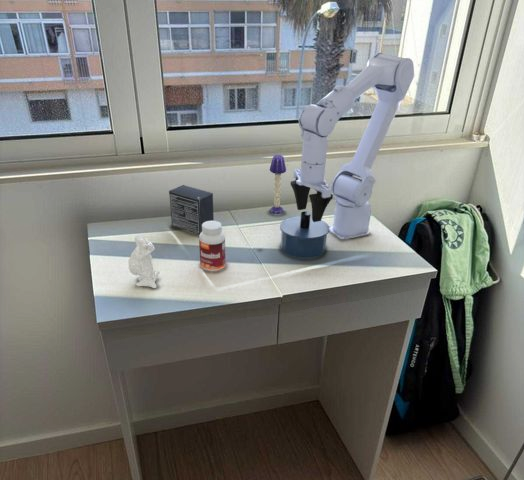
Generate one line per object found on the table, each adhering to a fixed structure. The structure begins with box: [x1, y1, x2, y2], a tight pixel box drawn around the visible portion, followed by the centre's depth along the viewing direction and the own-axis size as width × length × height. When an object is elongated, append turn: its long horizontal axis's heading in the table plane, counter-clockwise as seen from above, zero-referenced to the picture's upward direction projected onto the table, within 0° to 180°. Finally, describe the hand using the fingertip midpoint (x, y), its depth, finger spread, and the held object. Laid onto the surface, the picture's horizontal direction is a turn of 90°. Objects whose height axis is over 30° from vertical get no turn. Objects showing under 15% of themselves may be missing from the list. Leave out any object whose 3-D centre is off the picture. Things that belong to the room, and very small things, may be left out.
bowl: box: [280, 231, 328, 259], centre depth 134 cm, size 12×12×6 cm
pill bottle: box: [198, 220, 226, 272], centre depth 124 cm, size 6×6×11 cm
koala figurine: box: [128, 236, 160, 289], centre depth 117 cm, size 8×7×12 cm
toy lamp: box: [269, 154, 287, 215], centre depth 148 cm, size 5×5×17 cm
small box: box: [168, 184, 215, 236], centre depth 140 cm, size 11×6×10 cm, turn 58°
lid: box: [279, 210, 330, 240], centre depth 131 cm, size 13×13×5 cm
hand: (309, 214), depth 130 cm, fingers open, 7 cm apart
